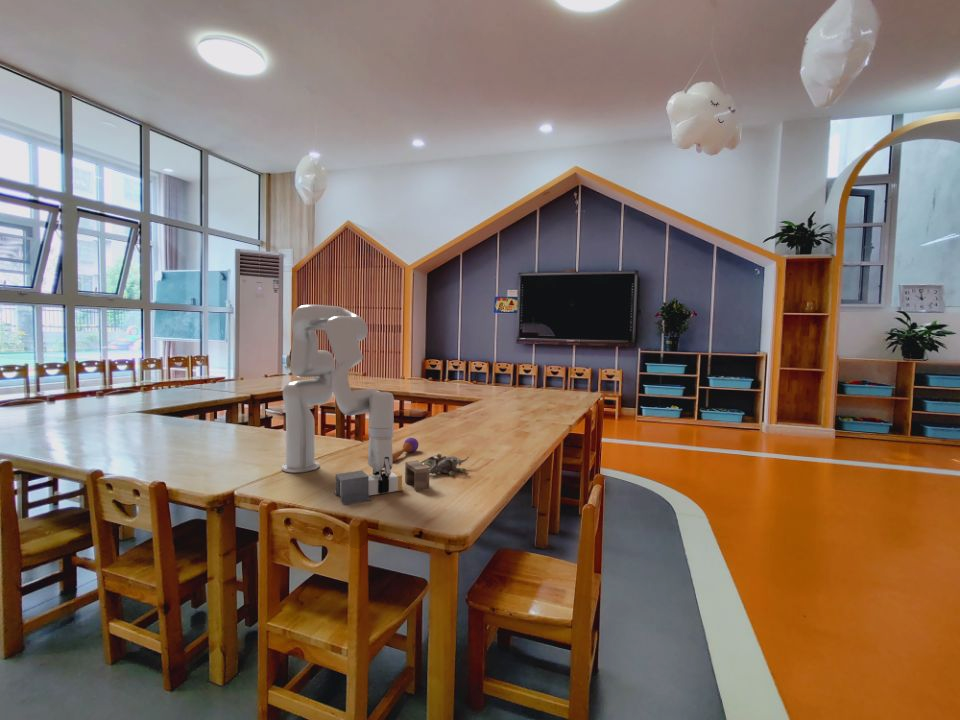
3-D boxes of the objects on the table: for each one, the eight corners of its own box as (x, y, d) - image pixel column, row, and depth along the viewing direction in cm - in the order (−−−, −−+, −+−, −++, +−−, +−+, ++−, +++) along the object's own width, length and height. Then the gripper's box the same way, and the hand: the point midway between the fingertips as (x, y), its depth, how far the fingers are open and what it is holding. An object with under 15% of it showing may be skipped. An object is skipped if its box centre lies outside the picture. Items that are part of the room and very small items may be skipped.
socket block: (405, 482, 157) (405, 462, 156) (417, 480, 159) (417, 460, 159) (416, 491, 149) (416, 469, 149) (429, 489, 151) (429, 467, 151)
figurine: (435, 467, 158) (403, 457, 169) (436, 484, 159) (404, 474, 170) (476, 452, 173) (444, 445, 184) (476, 468, 173) (444, 460, 185)
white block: (339, 495, 144) (340, 479, 143) (396, 486, 153) (396, 471, 153) (344, 500, 140) (344, 484, 139) (401, 490, 149) (402, 475, 149)
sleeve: (333, 492, 146) (333, 471, 146) (359, 488, 150) (359, 468, 150) (343, 505, 136) (343, 482, 136) (370, 500, 140) (371, 478, 140)
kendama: (382, 451, 181) (406, 436, 200) (385, 466, 181) (409, 450, 200) (396, 450, 179) (419, 435, 198) (399, 465, 179) (422, 449, 198)
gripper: (361, 427, 152) (360, 483, 153) (378, 439, 137) (378, 500, 139) (383, 425, 156) (383, 480, 157) (402, 436, 141) (402, 496, 143)
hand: (380, 489), depth 148 cm, fingers closed on white block, 4 cm apart
